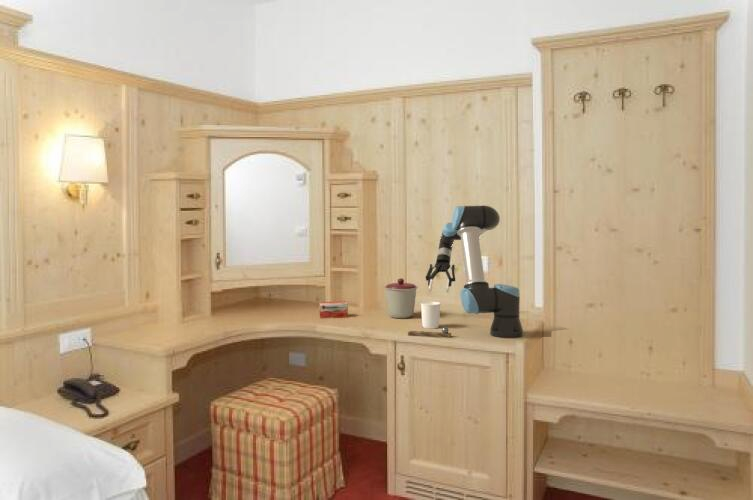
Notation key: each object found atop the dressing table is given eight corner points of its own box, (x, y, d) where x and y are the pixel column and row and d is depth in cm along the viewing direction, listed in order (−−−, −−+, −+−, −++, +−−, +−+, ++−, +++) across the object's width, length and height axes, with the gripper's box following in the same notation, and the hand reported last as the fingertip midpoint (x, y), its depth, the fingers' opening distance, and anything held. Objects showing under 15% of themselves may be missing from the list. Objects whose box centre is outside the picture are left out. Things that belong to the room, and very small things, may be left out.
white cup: (423, 329, 308) (423, 305, 307) (418, 325, 317) (418, 302, 316) (443, 328, 310) (442, 304, 309) (437, 324, 319) (437, 301, 318)
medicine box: (320, 318, 339) (319, 304, 338) (319, 316, 347) (319, 301, 346) (347, 317, 341) (347, 303, 340) (346, 315, 349) (346, 301, 348)
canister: (423, 318, 336) (423, 279, 334) (392, 321, 330) (391, 281, 328) (409, 312, 353) (409, 275, 351) (379, 315, 346) (379, 277, 345)
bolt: (448, 332, 291) (448, 327, 291) (447, 334, 289) (447, 328, 289) (442, 332, 292) (442, 327, 292) (441, 333, 290) (441, 328, 289)
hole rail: (451, 336, 292) (451, 332, 291) (449, 337, 288) (449, 334, 288) (409, 334, 297) (409, 330, 297) (408, 335, 294) (408, 332, 294)
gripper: (463, 262, 347) (459, 295, 333) (425, 261, 353) (419, 294, 339) (462, 253, 341) (457, 286, 327) (423, 253, 347) (417, 285, 333)
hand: (438, 290), depth 333 cm, fingers open, 9 cm apart
